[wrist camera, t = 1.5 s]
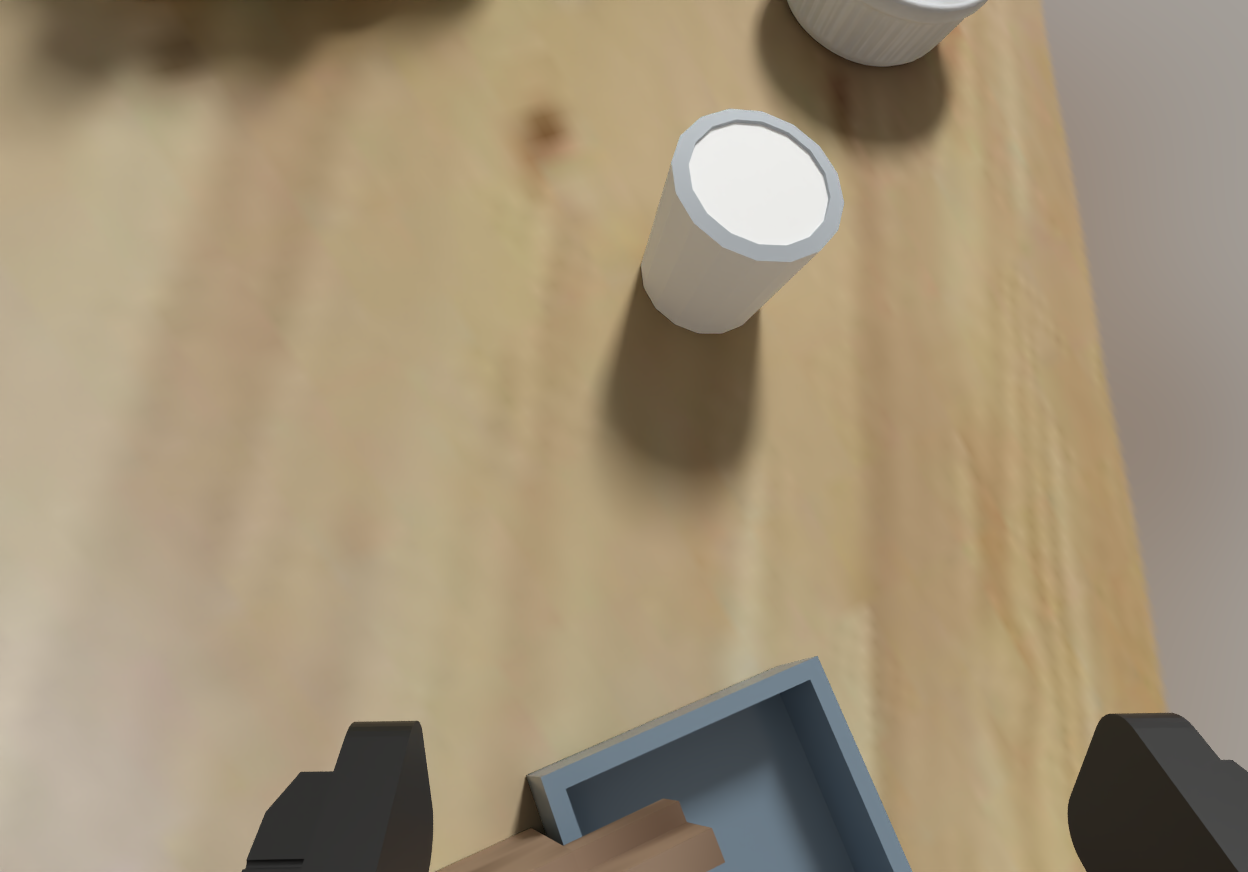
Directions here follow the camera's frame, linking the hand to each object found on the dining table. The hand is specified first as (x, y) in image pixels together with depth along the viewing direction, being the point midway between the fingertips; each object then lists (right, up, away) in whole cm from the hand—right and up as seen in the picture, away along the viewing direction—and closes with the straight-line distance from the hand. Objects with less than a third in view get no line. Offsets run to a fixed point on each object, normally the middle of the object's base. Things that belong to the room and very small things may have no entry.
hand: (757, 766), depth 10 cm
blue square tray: (+2, -11, +19) cm, 22 cm away
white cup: (+2, +11, +28) cm, 30 cm away
